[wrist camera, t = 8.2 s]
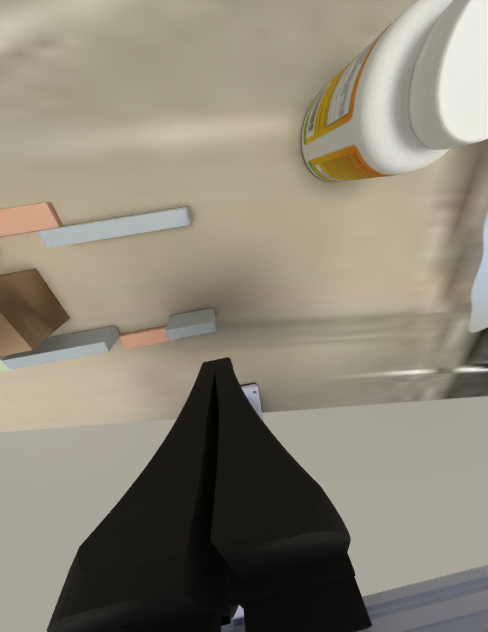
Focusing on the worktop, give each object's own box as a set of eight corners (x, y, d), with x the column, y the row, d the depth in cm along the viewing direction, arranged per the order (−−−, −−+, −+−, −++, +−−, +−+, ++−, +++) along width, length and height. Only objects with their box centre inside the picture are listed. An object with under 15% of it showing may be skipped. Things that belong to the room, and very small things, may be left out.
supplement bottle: (379, 161, 16) (571, 122, 7) (310, 195, 16) (416, 196, 8) (371, 61, 13) (662, -183, 5) (289, 106, 13) (416, -39, 5)
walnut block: (70, 317, 19) (32, 349, 15) (18, 328, 18) (-34, 363, 15) (36, 268, 16) (-19, 291, 12) (-23, 279, 16) (-98, 306, 12)
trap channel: (218, 329, 21) (219, 345, 19) (32, 364, 20) (10, 384, 18) (183, 181, 15) (178, 179, 13) (-91, 224, 14) (-147, 229, 12)
